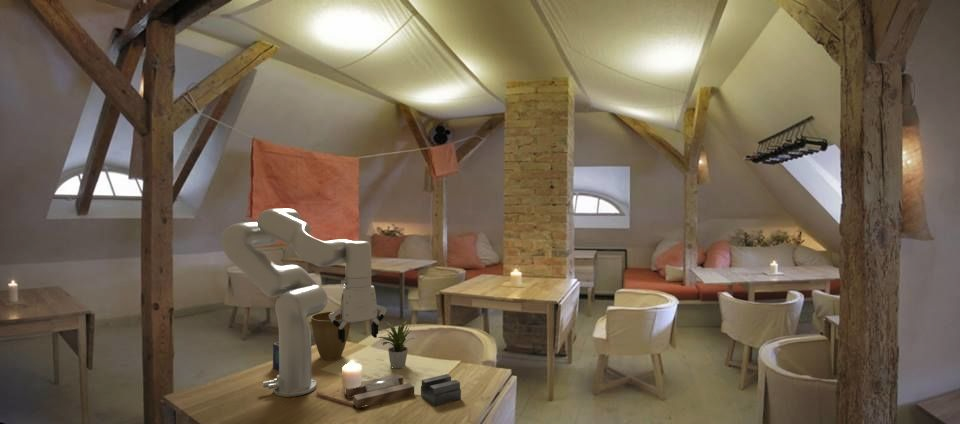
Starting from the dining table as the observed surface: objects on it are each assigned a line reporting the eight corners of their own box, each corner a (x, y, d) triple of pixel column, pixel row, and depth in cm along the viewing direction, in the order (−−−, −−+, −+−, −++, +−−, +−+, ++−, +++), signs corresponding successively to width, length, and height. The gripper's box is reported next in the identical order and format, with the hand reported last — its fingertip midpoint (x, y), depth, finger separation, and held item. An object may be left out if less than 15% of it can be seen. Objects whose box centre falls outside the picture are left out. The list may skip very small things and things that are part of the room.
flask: (296, 370, 162) (296, 340, 162) (290, 373, 160) (290, 342, 159) (276, 366, 166) (276, 337, 166) (270, 369, 163) (269, 339, 163)
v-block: (434, 406, 135) (434, 389, 134) (420, 395, 142) (420, 379, 142) (460, 399, 140) (460, 382, 139) (446, 389, 147) (446, 373, 147)
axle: (369, 398, 139) (368, 385, 139) (364, 396, 142) (363, 383, 143) (400, 391, 144) (398, 378, 145) (395, 389, 148) (394, 376, 148)
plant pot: (329, 366, 166) (329, 322, 165) (302, 359, 173) (302, 317, 173) (360, 355, 179) (360, 314, 178) (333, 348, 186) (333, 309, 186)
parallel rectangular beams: (357, 408, 133) (357, 399, 133) (344, 394, 143) (344, 385, 143) (414, 394, 143) (414, 386, 142) (398, 381, 153) (398, 374, 152)
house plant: (386, 357, 176) (386, 314, 176) (421, 359, 174) (421, 316, 174) (372, 370, 162) (372, 324, 162) (410, 373, 160) (410, 326, 160)
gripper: (331, 287, 130) (331, 347, 131) (390, 281, 139) (390, 338, 140) (325, 282, 137) (326, 340, 137) (382, 278, 146) (382, 331, 146)
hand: (358, 339), depth 138 cm, fingers open, 9 cm apart
